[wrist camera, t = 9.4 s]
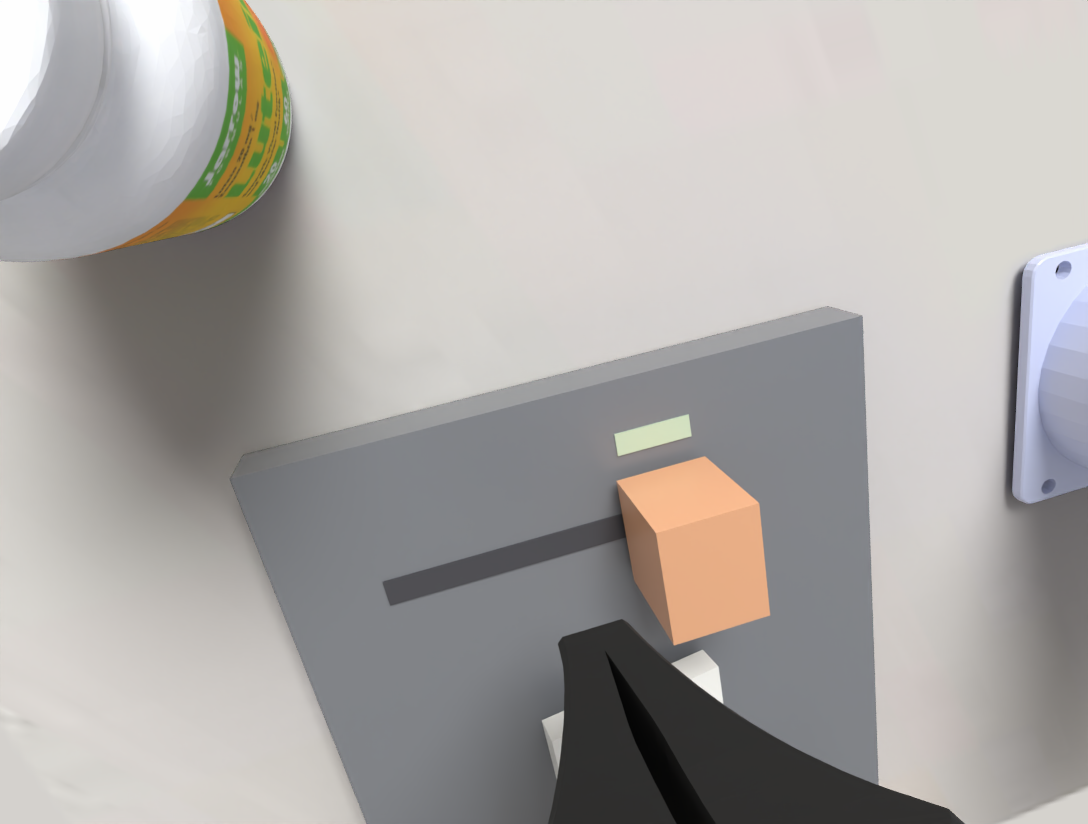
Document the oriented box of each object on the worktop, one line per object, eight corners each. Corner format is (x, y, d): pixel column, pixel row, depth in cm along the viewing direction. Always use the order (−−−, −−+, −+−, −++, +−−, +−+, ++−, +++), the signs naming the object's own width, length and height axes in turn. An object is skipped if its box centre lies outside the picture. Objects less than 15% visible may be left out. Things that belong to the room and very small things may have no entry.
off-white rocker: (702, 649, 20) (718, 666, 19) (714, 728, 21) (729, 747, 20) (541, 720, 18) (552, 741, 18) (562, 801, 19) (573, 824, 19)
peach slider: (705, 456, 18) (759, 503, 15) (717, 555, 19) (770, 615, 16) (616, 480, 17) (655, 533, 15) (633, 580, 18) (673, 645, 16)
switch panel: (827, 306, 19) (872, 318, 17) (853, 800, 26) (887, 846, 24) (243, 455, 17) (225, 486, 15) (434, 950, 23) (437, 1013, 22)
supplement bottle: (312, 226, 16) (200, 280, 7) (52, 239, 15) (-494, 321, 6) (273, -46, 14) (54, -474, 5) (-24, -53, 13) (-978, -600, 4)
